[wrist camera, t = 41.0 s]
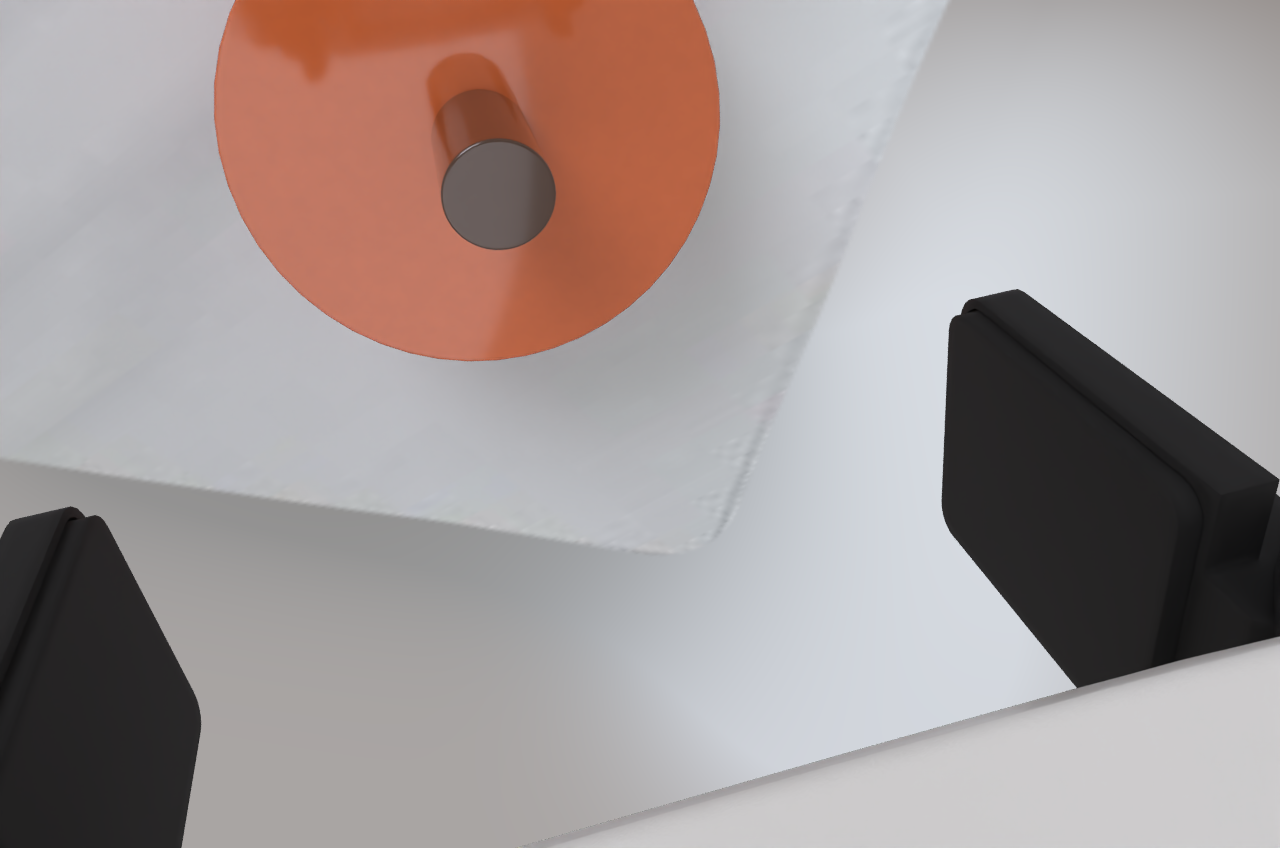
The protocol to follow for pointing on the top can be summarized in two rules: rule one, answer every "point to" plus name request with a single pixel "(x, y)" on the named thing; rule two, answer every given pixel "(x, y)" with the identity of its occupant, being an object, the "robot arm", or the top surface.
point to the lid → (468, 159)
